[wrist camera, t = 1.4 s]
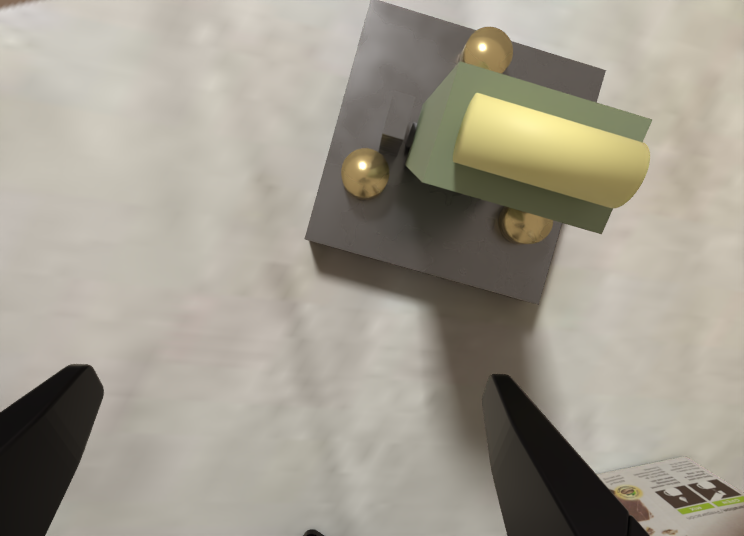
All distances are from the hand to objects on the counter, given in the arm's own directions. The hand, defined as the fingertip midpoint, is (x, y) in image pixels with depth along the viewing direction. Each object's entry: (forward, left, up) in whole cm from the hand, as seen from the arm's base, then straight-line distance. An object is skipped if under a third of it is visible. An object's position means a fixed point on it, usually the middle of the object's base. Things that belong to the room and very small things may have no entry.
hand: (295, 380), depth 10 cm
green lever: (-1, -11, -12) cm, 16 cm away
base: (-1, -11, -15) cm, 18 cm away
